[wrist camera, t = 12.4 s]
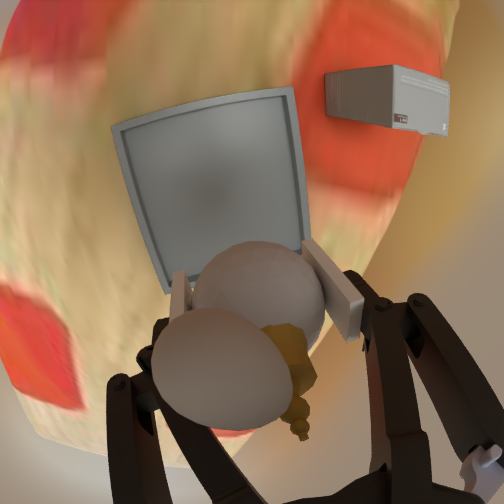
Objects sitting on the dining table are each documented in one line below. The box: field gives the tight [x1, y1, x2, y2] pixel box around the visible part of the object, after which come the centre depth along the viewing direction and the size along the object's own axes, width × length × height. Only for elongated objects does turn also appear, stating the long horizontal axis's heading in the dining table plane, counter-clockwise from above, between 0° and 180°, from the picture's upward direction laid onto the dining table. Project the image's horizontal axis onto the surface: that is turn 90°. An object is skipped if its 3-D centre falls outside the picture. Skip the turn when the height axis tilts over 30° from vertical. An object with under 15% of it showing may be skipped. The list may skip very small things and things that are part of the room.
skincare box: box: [325, 64, 450, 137], centre depth 26 cm, size 8×7×16 cm
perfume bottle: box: [151, 241, 325, 441], centre depth 13 cm, size 8×10×12 cm
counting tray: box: [111, 87, 311, 295], centre depth 35 cm, size 24×22×2 cm
